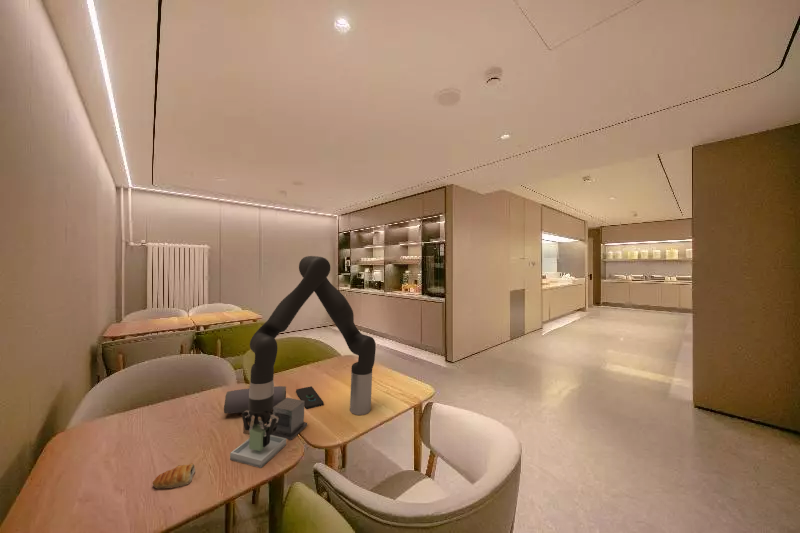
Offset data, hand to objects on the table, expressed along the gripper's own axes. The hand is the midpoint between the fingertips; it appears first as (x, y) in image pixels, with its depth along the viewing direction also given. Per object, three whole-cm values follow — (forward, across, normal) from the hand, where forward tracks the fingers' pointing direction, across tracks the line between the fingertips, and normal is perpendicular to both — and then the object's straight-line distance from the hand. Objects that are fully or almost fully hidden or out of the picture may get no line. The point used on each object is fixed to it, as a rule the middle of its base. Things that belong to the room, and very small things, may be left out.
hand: (259, 443), depth 96 cm
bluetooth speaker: (+3, +20, -21) cm, 29 cm away
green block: (+1, 0, 0) cm, 1 cm away
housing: (+3, -1, -14) cm, 14 cm away
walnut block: (+3, +11, -9) cm, 14 cm away
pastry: (+3, +13, +18) cm, 22 cm away
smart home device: (+3, +6, -39) cm, 40 cm away
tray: (+3, 0, 0) cm, 3 cm away
